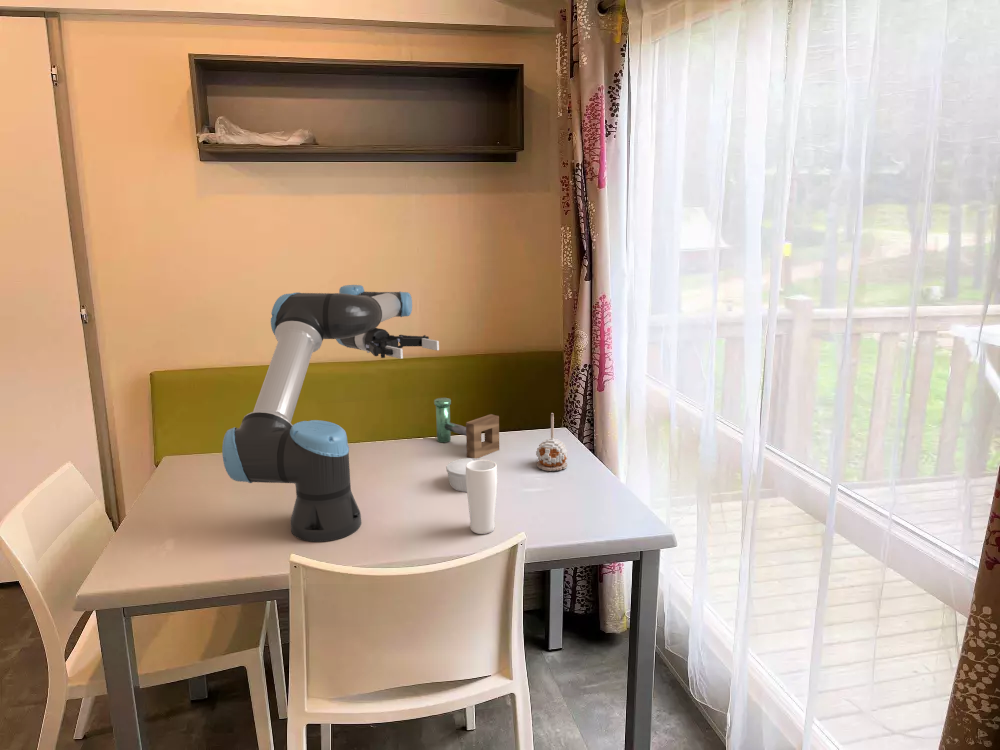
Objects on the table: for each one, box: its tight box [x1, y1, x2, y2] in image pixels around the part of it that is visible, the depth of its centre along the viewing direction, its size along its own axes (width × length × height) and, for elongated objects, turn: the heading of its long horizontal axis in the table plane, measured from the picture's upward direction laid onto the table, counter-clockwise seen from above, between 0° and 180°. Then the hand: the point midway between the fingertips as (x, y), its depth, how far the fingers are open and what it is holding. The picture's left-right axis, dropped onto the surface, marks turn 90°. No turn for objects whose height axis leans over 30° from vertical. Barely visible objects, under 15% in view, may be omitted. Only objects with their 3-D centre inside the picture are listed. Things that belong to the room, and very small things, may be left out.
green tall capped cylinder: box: [433, 397, 466, 443], centre depth 211 cm, size 15×5×12 cm, turn 47°
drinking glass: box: [466, 459, 498, 535], centre depth 158 cm, size 7×7×15 cm
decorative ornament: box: [535, 412, 568, 472], centre depth 193 cm, size 8×8×15 cm
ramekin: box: [445, 457, 482, 493], centre depth 183 cm, size 11×11×5 cm
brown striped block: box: [465, 413, 500, 459], centre depth 204 cm, size 3×10×10 cm, turn 137°
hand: (420, 349), depth 207 cm, fingers open, 13 cm apart
